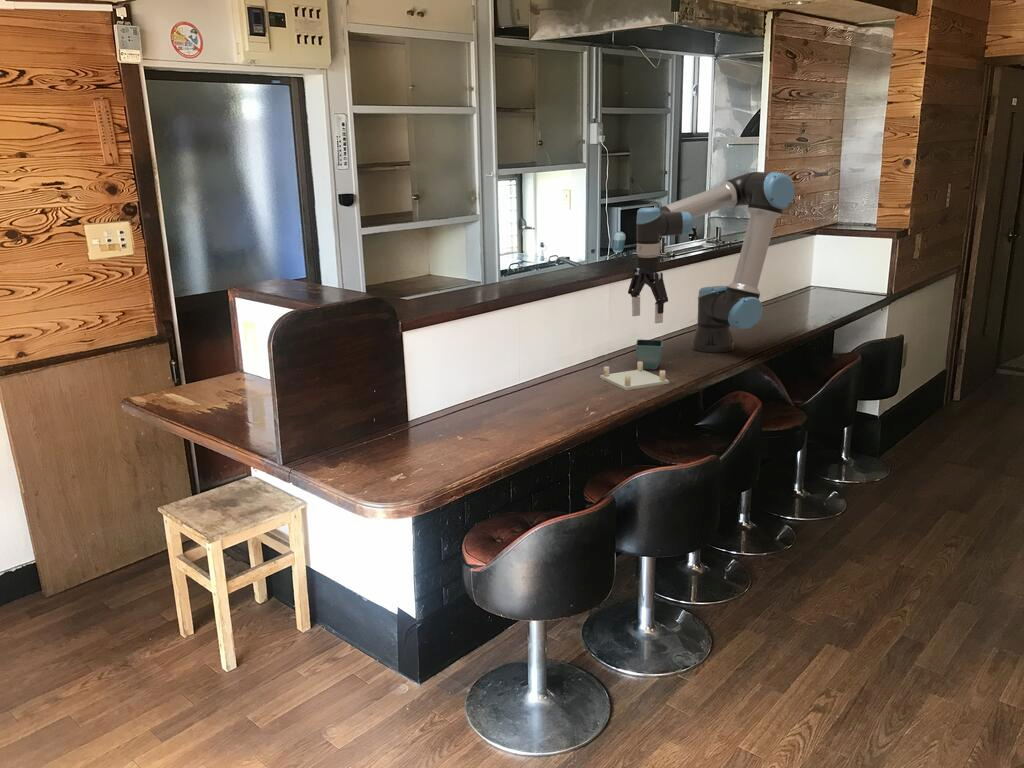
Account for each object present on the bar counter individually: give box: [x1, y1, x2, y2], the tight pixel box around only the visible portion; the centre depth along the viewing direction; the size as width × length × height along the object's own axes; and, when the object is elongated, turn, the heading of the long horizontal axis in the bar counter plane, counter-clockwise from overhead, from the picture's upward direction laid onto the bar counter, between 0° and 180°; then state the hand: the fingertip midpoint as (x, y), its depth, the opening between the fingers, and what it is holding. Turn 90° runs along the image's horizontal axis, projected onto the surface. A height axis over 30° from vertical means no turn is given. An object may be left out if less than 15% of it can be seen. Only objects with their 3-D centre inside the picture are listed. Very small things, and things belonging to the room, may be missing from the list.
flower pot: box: [635, 339, 664, 371], centre depth 285 cm, size 9×9×9 cm
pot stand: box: [599, 361, 670, 391], centre depth 271 cm, size 16×16×4 cm
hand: (647, 319), depth 280 cm, fingers open, 13 cm apart
